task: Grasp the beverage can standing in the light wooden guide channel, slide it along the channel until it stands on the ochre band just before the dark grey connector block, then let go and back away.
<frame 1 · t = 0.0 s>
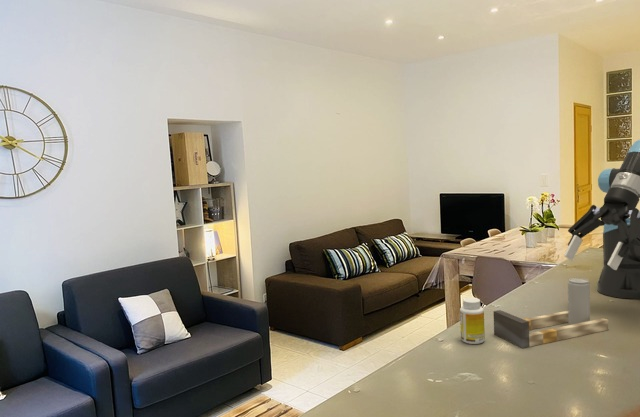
hand: (588, 262, 127), 15 cm above the table, tool tilted 35°, fingers open, 13 cm apart
guide channel: (554, 331, 121), on the table
beverage can: (579, 327, 124), on the table
supplement bottle: (472, 341, 119), on the table
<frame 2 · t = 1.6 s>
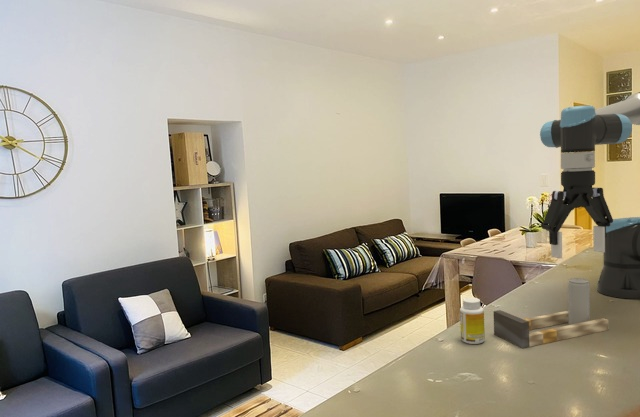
hand: (578, 254, 122), 19 cm above the table, tool pointing down, fingers open, 13 cm apart
nothing on the table moved.
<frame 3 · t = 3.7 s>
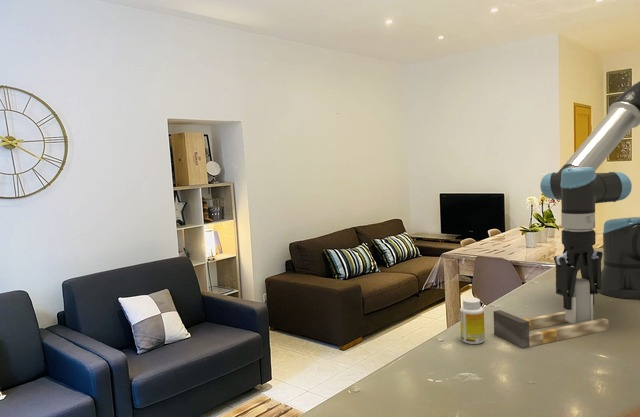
hand: (579, 319, 124), 2 cm above the table, tool pointing down, fingers closed on beverage can, 5 cm apart
beverage can: (579, 327, 124), on the table, touching gripper
everything else where it was.
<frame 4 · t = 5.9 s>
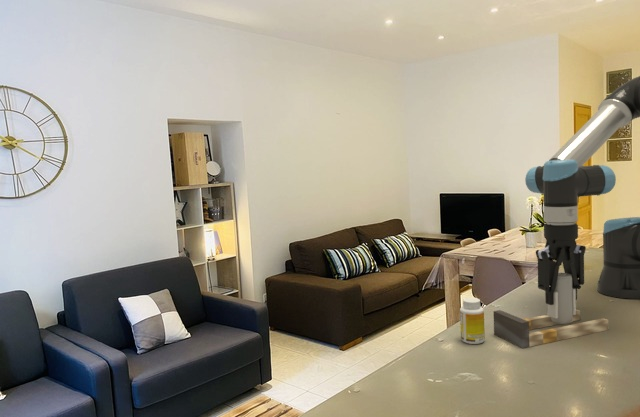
hand: (561, 314, 122), 4 cm above the table, tool pointing down, fingers closed on beverage can, 5 cm apart
beverage can: (561, 322, 122), point 2 cm above the table, touching gripper
everything else where it was.
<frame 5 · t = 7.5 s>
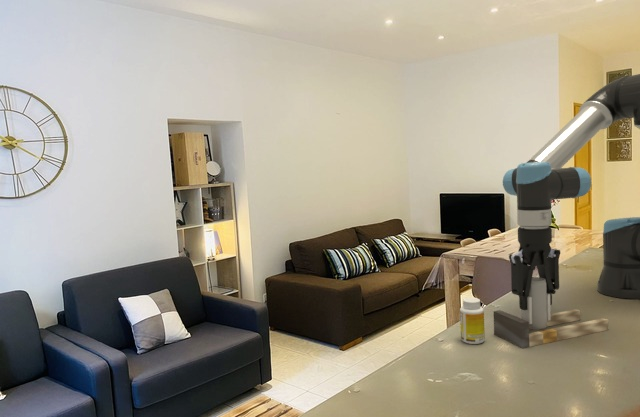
hand: (536, 320, 119), 4 cm above the table, tool pointing down, fingers closed on beverage can, 5 cm apart
beverage can: (536, 327, 120), point 2 cm above the table, touching gripper
everything else where it was.
when the fingers open (2 cm above the table, at t = 8.4 s): beverage can stays where it is, on the table.
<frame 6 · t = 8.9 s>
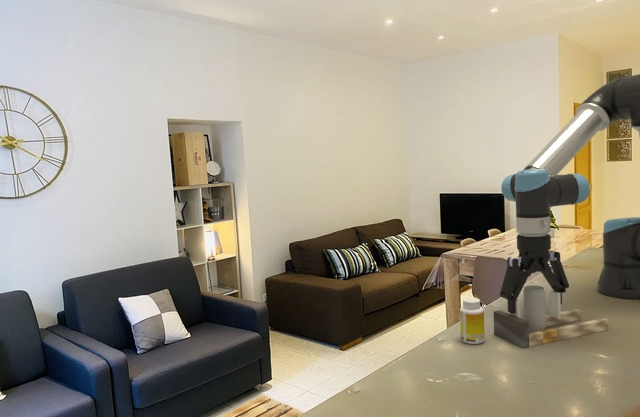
hand: (535, 321, 119), 3 cm above the table, tool pointing down, fingers open, 11 cm apart
beverage can: (534, 336, 120), on the table
everything else where it was.
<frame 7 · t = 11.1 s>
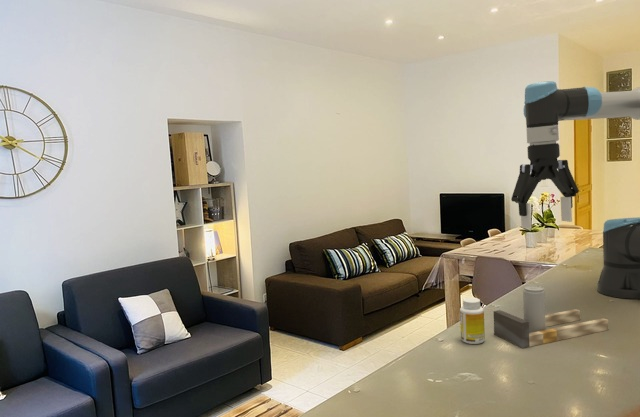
hand: (547, 224, 128), 26 cm above the table, tool pointing down, fingers open, 13 cm apart
nothing on the table moved.
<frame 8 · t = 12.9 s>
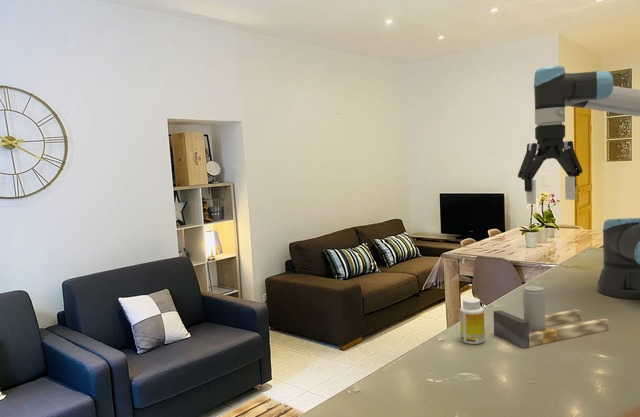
hand: (551, 201, 136), 31 cm above the table, tool pointing down, fingers open, 13 cm apart
nothing on the table moved.
at the end: beverage can inside the target area (0.6 cm from its centre), on the table; beverage can tilted 0°; the gripper is holding nothing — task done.
